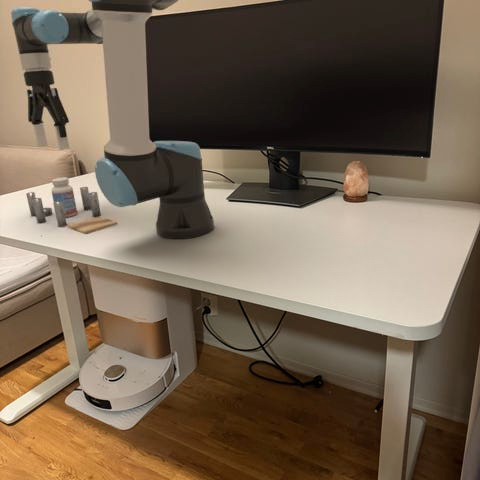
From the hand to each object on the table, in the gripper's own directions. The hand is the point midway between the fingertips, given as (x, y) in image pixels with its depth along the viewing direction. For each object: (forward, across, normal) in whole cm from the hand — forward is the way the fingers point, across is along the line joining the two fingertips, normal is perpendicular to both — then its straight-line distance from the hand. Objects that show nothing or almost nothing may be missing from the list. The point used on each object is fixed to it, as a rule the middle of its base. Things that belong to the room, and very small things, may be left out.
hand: (53, 147), depth 136 cm
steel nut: (+21, +6, +4) cm, 22 cm away
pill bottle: (+21, 0, 0) cm, 21 cm away
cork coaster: (+21, -17, +1) cm, 27 cm away
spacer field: (+20, 0, 0) cm, 20 cm away
